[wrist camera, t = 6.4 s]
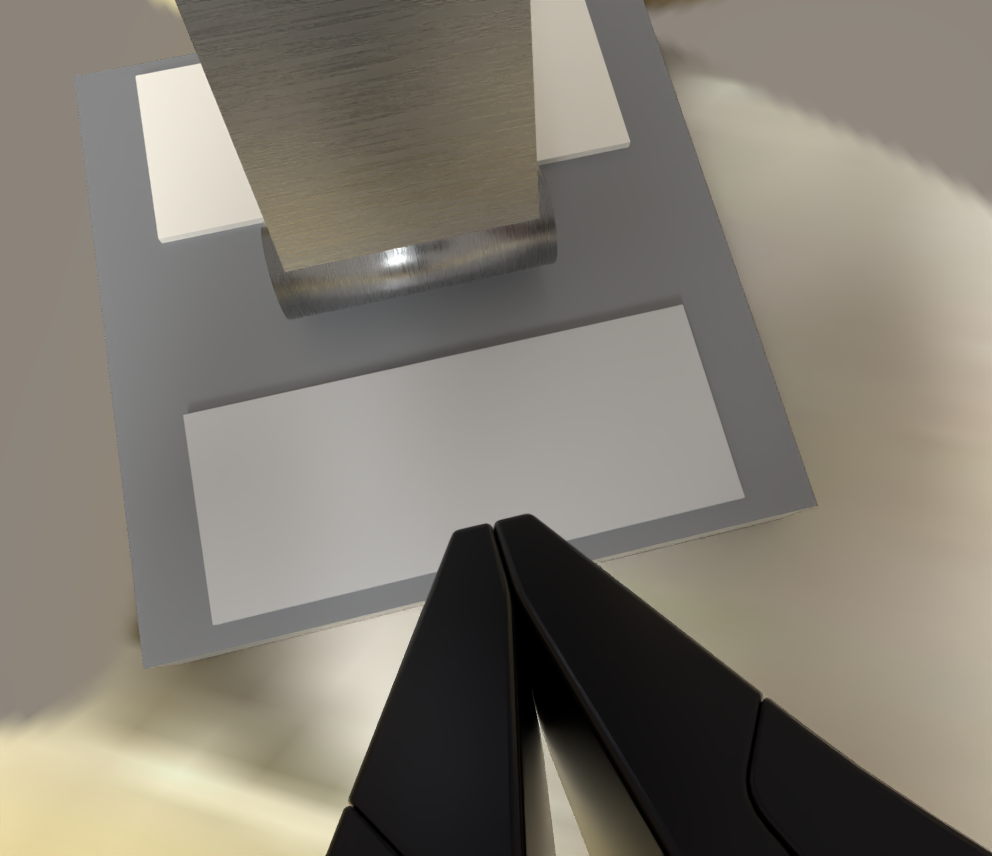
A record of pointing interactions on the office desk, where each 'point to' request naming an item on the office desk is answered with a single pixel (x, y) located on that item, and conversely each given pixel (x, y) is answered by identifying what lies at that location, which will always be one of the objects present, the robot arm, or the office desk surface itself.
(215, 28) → the toggle lever
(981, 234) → the office desk surface
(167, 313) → the switch base
